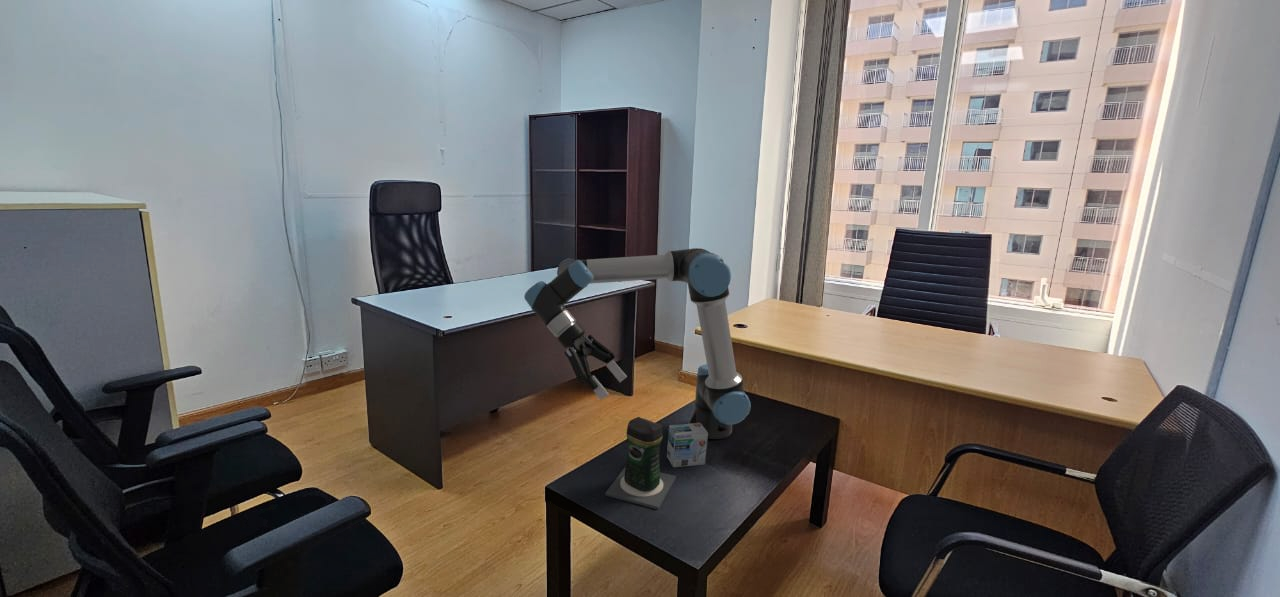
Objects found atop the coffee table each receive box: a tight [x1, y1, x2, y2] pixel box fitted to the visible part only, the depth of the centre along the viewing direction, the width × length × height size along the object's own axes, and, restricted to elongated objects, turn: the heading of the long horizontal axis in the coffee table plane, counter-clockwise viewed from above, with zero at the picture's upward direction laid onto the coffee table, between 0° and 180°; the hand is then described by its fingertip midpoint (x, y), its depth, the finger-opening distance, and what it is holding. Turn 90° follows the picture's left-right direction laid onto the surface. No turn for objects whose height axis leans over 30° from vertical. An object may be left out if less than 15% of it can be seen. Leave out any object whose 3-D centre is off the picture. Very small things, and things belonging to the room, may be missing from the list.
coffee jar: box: [624, 416, 664, 492], centre depth 145 cm, size 10×8×19 cm
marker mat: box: [605, 466, 677, 510], centre depth 147 cm, size 16×15×1 cm
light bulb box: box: [666, 423, 708, 468], centre depth 161 cm, size 11×7×11 cm, turn 105°
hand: (614, 388), depth 148 cm, fingers open, 13 cm apart
